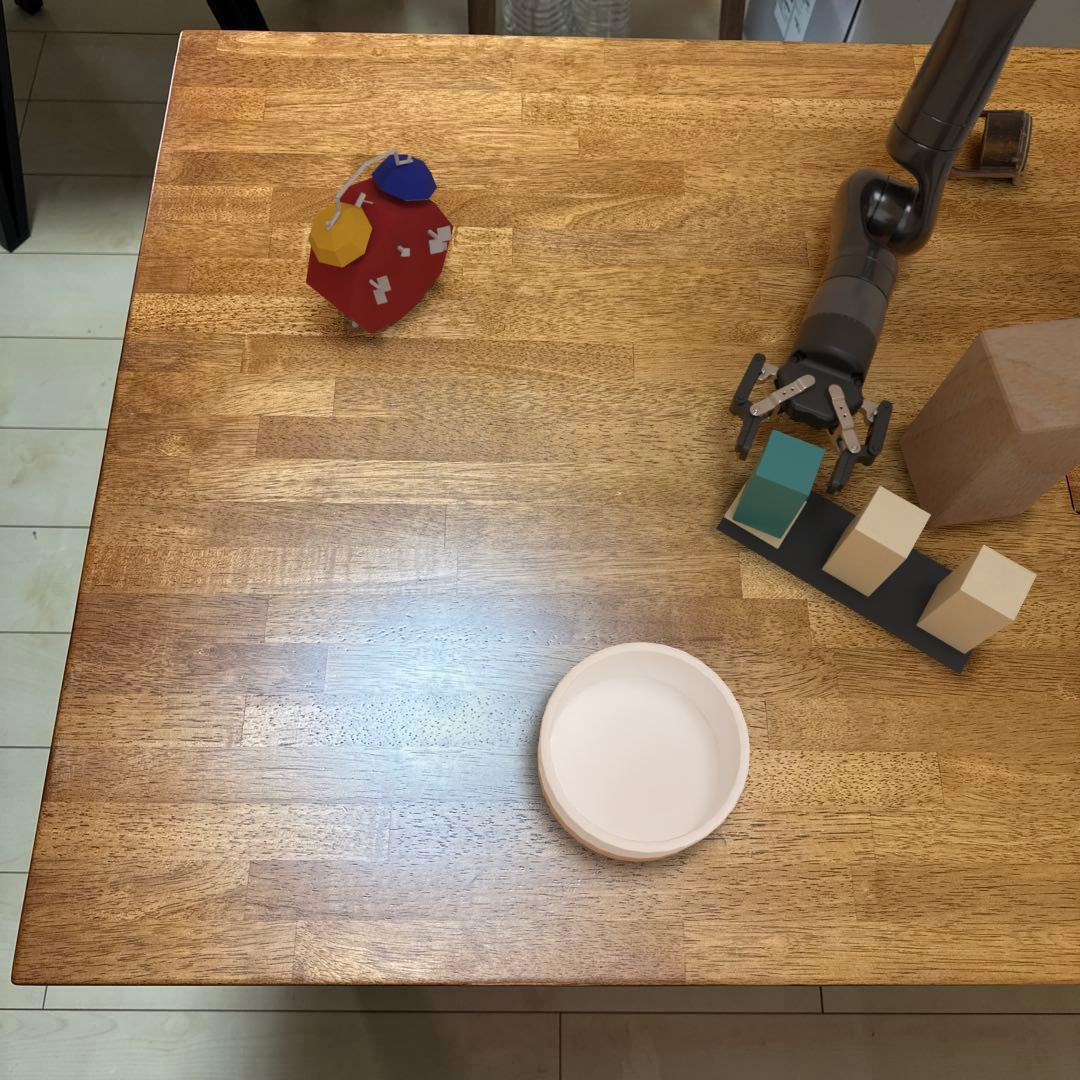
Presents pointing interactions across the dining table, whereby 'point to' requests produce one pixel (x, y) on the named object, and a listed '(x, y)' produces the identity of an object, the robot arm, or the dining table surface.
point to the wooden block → (999, 425)
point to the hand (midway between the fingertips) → (787, 473)
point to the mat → (886, 606)
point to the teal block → (778, 484)
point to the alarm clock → (380, 243)
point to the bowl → (642, 751)
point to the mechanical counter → (1002, 145)
